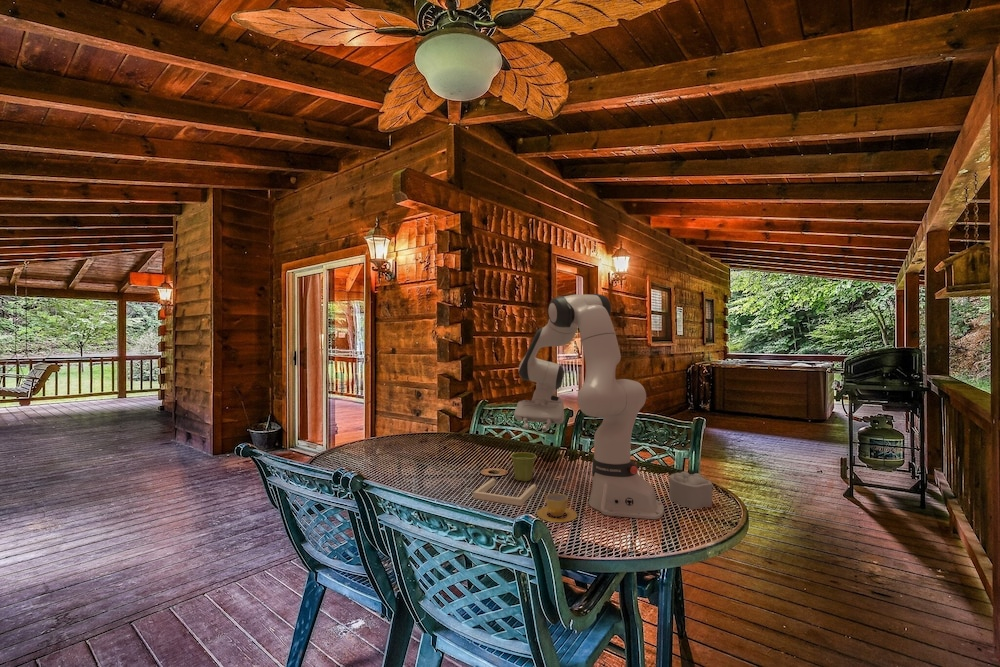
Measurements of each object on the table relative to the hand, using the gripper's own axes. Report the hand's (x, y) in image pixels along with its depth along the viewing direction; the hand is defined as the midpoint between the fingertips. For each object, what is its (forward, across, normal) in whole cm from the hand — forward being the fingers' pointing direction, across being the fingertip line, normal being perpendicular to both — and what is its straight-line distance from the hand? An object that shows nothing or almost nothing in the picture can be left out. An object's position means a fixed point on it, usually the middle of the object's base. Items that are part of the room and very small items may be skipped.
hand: (534, 429), depth 182 cm
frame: (+32, 0, -10) cm, 34 cm away
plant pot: (+20, 0, +2) cm, 21 cm away
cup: (+40, +20, -17) cm, 48 cm away
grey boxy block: (+21, +56, +2) cm, 60 cm away
